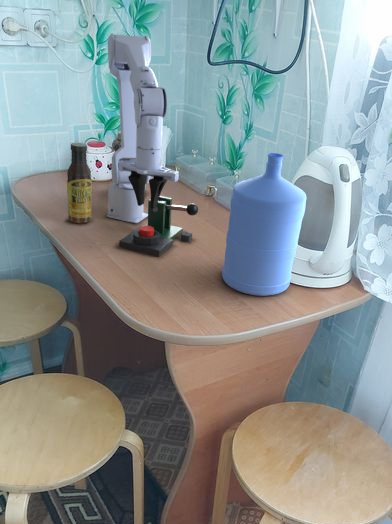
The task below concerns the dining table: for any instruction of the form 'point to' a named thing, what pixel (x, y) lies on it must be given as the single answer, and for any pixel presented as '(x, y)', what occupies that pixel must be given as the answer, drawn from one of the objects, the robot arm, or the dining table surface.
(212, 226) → the dining table surface
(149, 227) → the button
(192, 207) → the rod
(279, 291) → the water jug
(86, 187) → the sauce bottle
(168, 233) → the rod bracket
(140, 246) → the button box
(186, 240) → the block
